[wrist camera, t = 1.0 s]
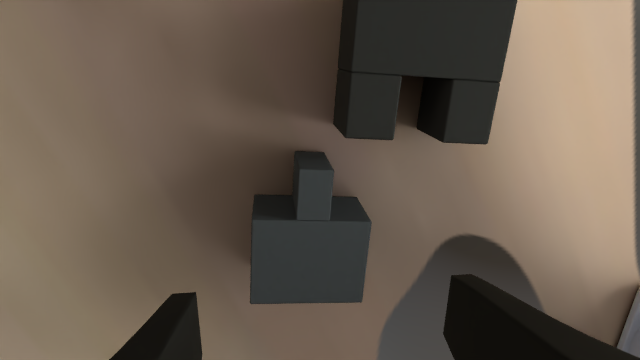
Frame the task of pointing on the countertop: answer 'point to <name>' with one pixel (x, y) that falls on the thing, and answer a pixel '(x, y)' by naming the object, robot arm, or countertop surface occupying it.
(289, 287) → the grey t-shaped block
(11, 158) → the countertop surface
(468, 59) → the black notched block
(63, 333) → the countertop surface
